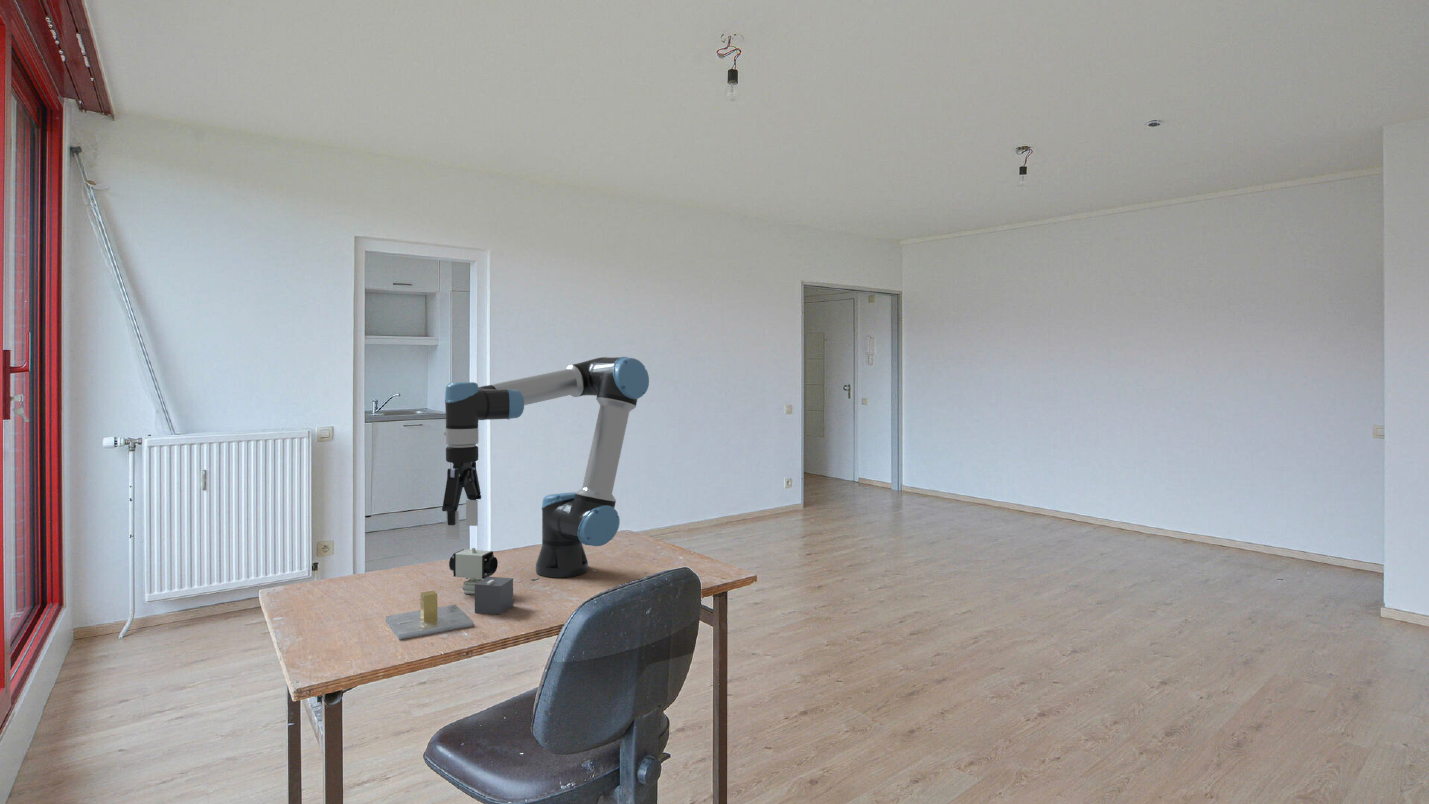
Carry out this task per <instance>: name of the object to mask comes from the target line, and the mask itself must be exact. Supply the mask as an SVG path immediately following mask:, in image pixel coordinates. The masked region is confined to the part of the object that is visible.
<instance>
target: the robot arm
mask: <svg viewBox="0 0 1429 804" xmlns="http://www.w3.org/2000/svg"><path fill="white" fill-rule="evenodd" d="M649 385H650V377H649V372H648V370H647V369H646V366H645V365H644V363H642V361H640V359H639V360H638V359H637V358H633V357H627V356H621V357H619V356H617V357H616V356H615V357H606V356H604V357H597V358H593V359H589V360H586V361H585V360H584V361H582V362H578V363H574V364H570V365H567V366H566V367H565V369H562V370H557V371H552V372H548V373H547V372H546V373H542V374H538V375H532V376H528V377H527V376H526V377H522V378H518V379H512V380H507V381H503V382H499V383H493V384H489V385H483V386H479V385H478V383H477V382H472V381H471V382H469V381H464V382H462V381H459V382H457V381H456V382H454V381H453V382H452V381H451V382H449V383H447V384H446V385H445V386H446V387H445V393H444V394H445V396H444V404H445V431H444V432H443V435H444V436H445V444H446V447H445V461H446V462H447V463H449V464H450V463H452V464H453V465H452V468H447V471H446V472H447V473H446V482H445V483H446V485H445V489H444V496H443V503H442V508H441V509H442V512H446V539H456V540H457V539H458V540H459V539H460V510H458V508H459V504H460V500H461V495H462V494H463V493H462V492H463V489H464V492H465V495H466V498H467V499H466V500H465V526H466V527H467V526H468V527H473V526H474V527H478V525H479V524H478V521H479V519H478V518H479V517H478V516H479V514H478V502H479V501H478V500H481V499H482V495H481V489H480V481H479V476H478V472H477V461H479V446H477V445H478V444H479V421H489V420H491V421H493V420H510V419H511V420H512V419H518V418H520V417H521V416H522V415H523V413H524V410H525V406H527V405H531V404H537V403H541V402H545V401H549V400H554V399H558V398H562V397H567V396H571V397H573V398H579V397H583V396H584V397H585V396H594V397H595V396H596V397H595V398H596V399H595V400H596V401H597V403H598V404H599V409H598V413H597V419H596V423H595V429H594V433H593V437H592V442H591V446H590V450H589V455H588V460H587V465H586V468H585V473H584V478H583V483H582V487H581V489H579V490H577V491H576V492H575V491H573V492H562V493H561V492H560V493H553V494H552V493H551V494H547V495H545V496H544V497H543V499H542V505H541V510H542V511H541V517H542V518H541V519H542V523H541V525H542V526H541V528H542V529H541V530H542V531H541V532H542V533H541V534H542V535H541V537H542V538H541V539H542V540H541V548H540V551H539V553H538V554H539V555H538V557H537V560H536V563H535V573H536V574H537V575H539V576H543V577H547V578H570V577H575V576H579V575H583V574H585V573H586V572H588V571H589V561H588V558H587V555H586V552H585V549H584V546H592V547H601V546H605V545H606V544H608V543H609V542H610V541H612V540H613V538H614V537H615V536H616V535H617V533H618V530H619V528H620V520H621V519H620V516H619V514H618V511H617V510H616V509H615V507H616V503H617V499H616V498H615V496H614V495H613V491H614V486H615V481H616V476H617V471H618V467H619V463H620V458H621V453H622V448H623V444H624V439H625V434H626V429H627V424H628V419H629V415H630V412H631V411H632V410H634V409H636V408H637V403H638V400H639V399H640V398H643V396H644V395H645V394H646V393H647V391H648V390H649V387H650V386H649Z"/></svg>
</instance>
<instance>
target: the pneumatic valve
mask: <svg viewBox="0 0 1429 804" xmlns="http://www.w3.org/2000/svg"><path fill="white" fill-rule="evenodd" d="M498 563H499V561H498V558H497V557H496V556H495V555H494V551H491V550H483V549H481V550H479V549H476V548H475V547H472V548H471V549H464V548H463V549H461V550H459V551H456V552H453V554H452V555H451V556H450V558H449V562H448V567H449V569H450V571H452V573H453V577H455V578H465V581H463V583H462V590H463V594H464V595H472V596H473V595H474V596H475V584H476V583H478V582H480V581H481V580H483V579H485V578H486V577H492V576H493V575H494V574H495V573H496V572H497V569H498V567H499V566H498Z"/></svg>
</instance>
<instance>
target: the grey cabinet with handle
mask: <svg viewBox="0 0 1429 804" xmlns="http://www.w3.org/2000/svg"><path fill="white" fill-rule="evenodd" d="M513 606H514V578H513V577H501V576H499V577H497V576H489V577H486V578H485V579H482V580H481V581H480V582H478V583H476V584H475V595H474V613H476V614H487V615H502V614H504V613H505V612H506V611H508V610H509V609H511V608H512V607H513Z"/></svg>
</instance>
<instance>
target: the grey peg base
mask: <svg viewBox="0 0 1429 804" xmlns="http://www.w3.org/2000/svg"><path fill="white" fill-rule="evenodd" d="M385 622H386V623H387V625H388V627H389V628H390V629H391V631H392V633H394V635H395V636H396V638H397V639H398V640H399V641H401V640H405V639H410V638H417V637H421V636H427V635H432V634H437V633H442V632H443V633H444V632H449V631H452V630H458V629H463V628H469V627H473V625H474V621H473V619H471V618H470V617H469V616H468V615H467V614H466V613H465V612H464V611H463V610H462V609H461V608H460V607H459V606H458V605H457V604H455V603H454V604H449V605H445V606H443V605H442V606H438V593H437V592H436V591H435V590H429V591H428V590H426V591H422V592H420V610H414V611H409V612H401V613H397V614H390V615H386V616H385Z"/></svg>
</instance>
